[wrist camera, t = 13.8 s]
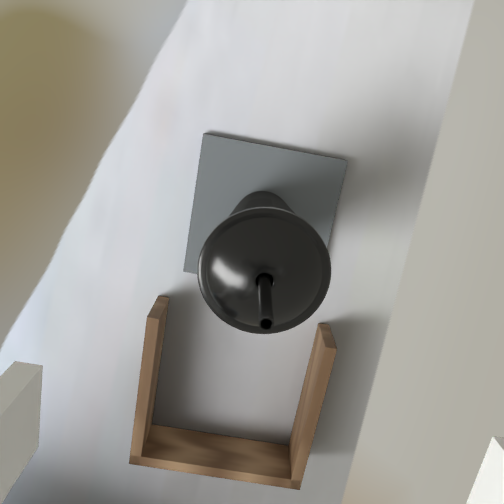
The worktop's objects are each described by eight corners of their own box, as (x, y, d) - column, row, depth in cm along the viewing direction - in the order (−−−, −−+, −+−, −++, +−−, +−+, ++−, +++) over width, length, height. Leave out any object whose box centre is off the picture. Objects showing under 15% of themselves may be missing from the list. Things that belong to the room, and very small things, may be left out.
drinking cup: (198, 223, 39) (143, 332, 20) (257, 154, 37) (257, 202, 18) (265, 278, 41) (274, 428, 22) (325, 214, 39) (390, 316, 20)
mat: (184, 269, 41) (183, 271, 41) (203, 133, 38) (203, 134, 37) (314, 291, 42) (315, 294, 41) (346, 160, 38) (347, 160, 38)
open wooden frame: (140, 430, 46) (129, 463, 42) (158, 295, 42) (146, 317, 38) (295, 455, 47) (299, 489, 43) (329, 324, 43) (337, 349, 38)
